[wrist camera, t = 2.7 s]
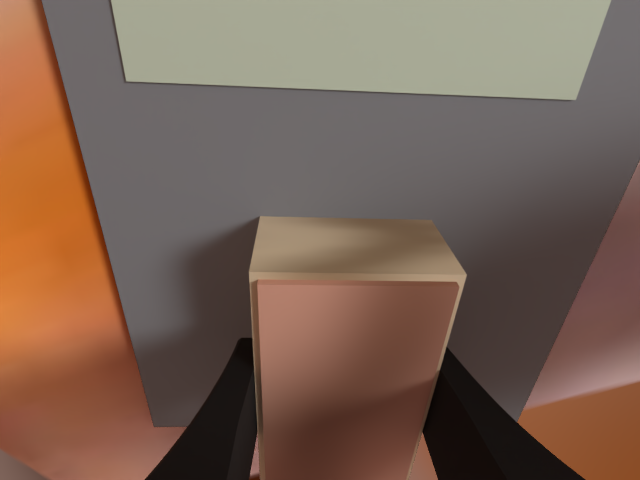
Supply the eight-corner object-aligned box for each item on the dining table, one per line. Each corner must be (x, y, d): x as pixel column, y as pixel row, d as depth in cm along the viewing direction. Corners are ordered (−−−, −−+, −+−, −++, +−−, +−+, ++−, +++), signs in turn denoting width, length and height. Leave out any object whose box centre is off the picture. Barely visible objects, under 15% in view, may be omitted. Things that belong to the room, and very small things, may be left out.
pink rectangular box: (431, 219, 11) (470, 279, 9) (390, 416, 16) (407, 494, 13) (260, 216, 11) (247, 276, 9) (266, 417, 16) (260, 498, 13)
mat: (933, -520, 6) (982, -561, 5) (512, 414, 17) (517, 425, 16) (-121, -681, 5) (-160, -745, 5) (157, 418, 16) (153, 429, 15)
